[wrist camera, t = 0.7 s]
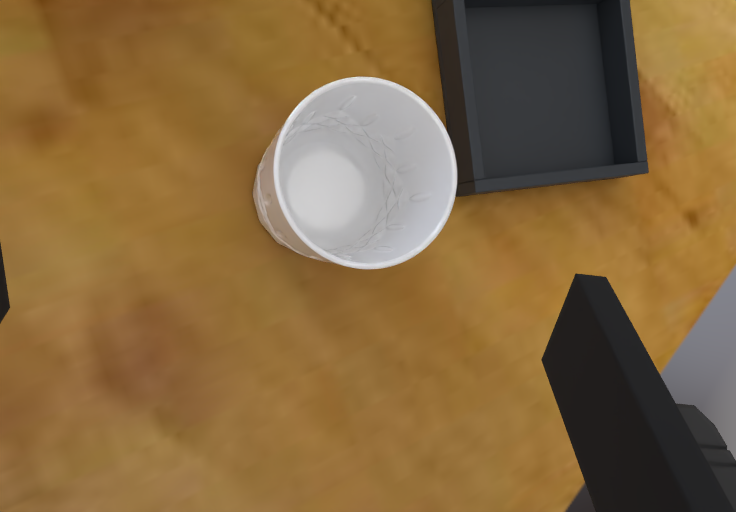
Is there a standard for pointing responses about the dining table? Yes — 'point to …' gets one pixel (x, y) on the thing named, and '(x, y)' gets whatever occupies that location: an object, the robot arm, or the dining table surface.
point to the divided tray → (539, 92)
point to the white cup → (358, 175)
